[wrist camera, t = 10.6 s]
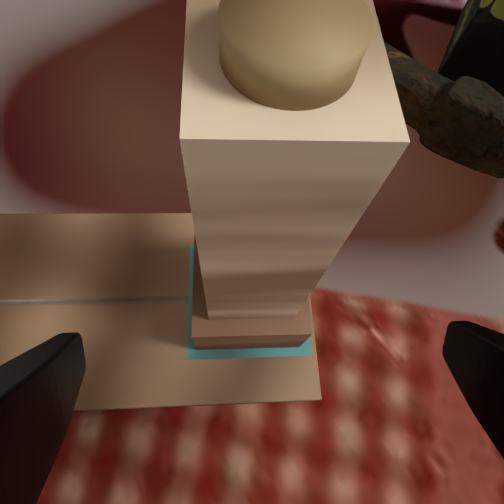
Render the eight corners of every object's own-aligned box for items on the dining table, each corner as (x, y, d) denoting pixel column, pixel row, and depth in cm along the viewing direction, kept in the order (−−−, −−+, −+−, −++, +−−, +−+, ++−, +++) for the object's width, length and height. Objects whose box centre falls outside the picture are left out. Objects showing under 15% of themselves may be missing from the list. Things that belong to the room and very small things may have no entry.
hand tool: (264, 52, 29) (270, -11, 25) (298, 29, 30) (310, -35, 26) (477, 207, 24) (530, 162, 20) (507, 172, 26) (562, 122, 21)
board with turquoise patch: (-123, 419, 17) (-142, 419, 16) (-57, 223, 21) (-70, 214, 20) (316, 400, 18) (321, 399, 18) (297, 221, 23) (300, 212, 22)
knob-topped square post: (299, 347, 18) (499, 143, 5) (196, 350, 18) (112, 137, 5) (291, 254, 20) (417, -69, 7) (198, 254, 20) (144, -85, 7)
